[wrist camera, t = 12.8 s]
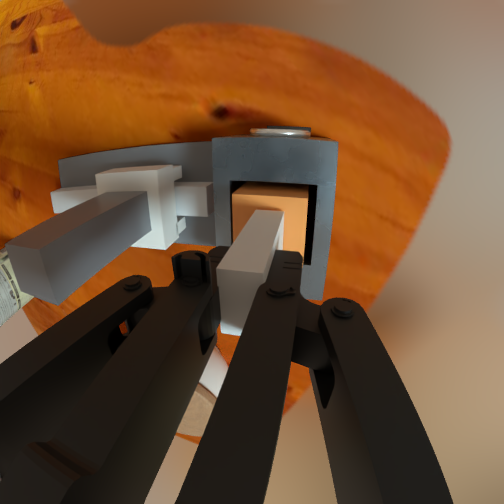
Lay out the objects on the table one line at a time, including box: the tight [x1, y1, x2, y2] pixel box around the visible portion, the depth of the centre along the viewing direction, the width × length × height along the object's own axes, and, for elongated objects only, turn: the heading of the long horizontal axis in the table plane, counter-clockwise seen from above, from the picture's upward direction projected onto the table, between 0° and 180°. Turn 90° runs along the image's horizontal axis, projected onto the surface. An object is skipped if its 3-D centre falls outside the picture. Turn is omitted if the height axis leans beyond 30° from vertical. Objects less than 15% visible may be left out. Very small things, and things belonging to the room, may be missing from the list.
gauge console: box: [212, 126, 338, 300], centre depth 19 cm, size 11×7×7 cm, turn 0°
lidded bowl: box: [176, 346, 228, 436], centre depth 28 cm, size 13×13×11 cm
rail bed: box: [50, 141, 216, 246], centre depth 24 cm, size 9×19×3 cm, turn 90°
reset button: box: [232, 181, 309, 268], centre depth 17 cm, size 4×4×4 cm
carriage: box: [5, 165, 186, 305], centre depth 17 cm, size 6×6×14 cm
